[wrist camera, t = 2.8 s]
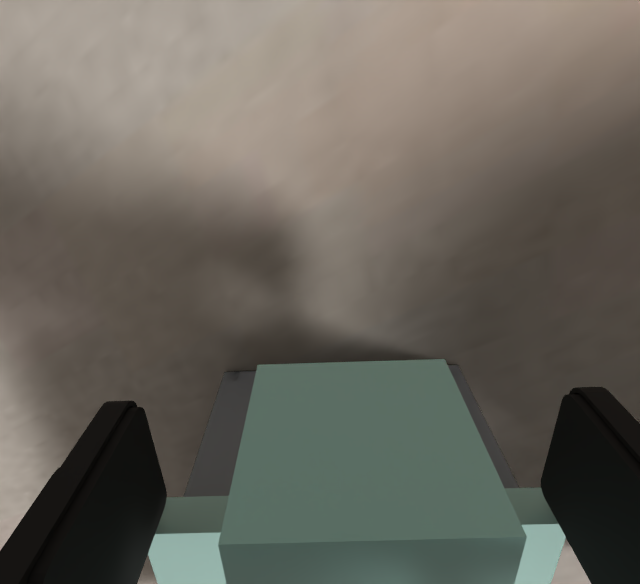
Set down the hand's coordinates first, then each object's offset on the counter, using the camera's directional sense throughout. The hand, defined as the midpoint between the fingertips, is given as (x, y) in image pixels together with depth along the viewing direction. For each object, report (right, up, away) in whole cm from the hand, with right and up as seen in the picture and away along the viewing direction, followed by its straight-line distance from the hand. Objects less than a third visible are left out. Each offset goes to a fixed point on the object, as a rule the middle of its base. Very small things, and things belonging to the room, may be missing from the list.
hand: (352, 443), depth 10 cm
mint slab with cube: (0, -7, +3) cm, 8 cm away
